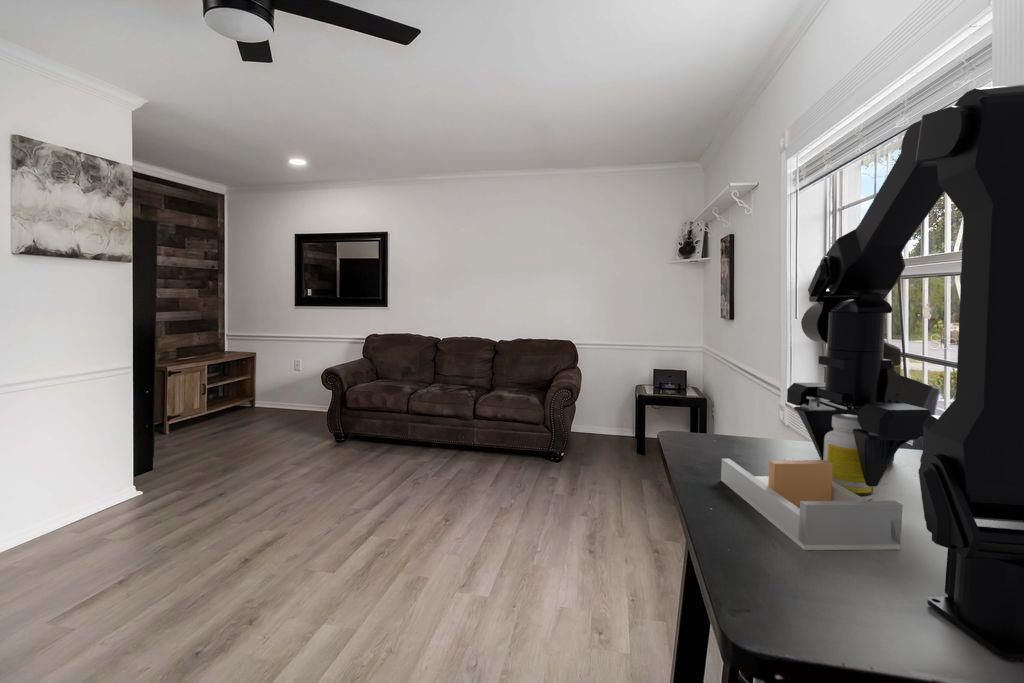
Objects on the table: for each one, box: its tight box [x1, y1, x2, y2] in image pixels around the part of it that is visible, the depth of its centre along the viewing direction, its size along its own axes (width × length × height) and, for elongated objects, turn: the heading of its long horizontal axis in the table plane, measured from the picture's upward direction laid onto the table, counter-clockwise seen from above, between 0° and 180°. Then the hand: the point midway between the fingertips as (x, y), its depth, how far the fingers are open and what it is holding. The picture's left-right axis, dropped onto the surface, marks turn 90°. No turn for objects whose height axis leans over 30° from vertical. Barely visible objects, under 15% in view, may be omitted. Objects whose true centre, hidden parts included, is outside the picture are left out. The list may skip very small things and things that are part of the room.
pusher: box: [768, 459, 833, 506], centre depth 57 cm, size 1×7×5 cm, turn 90°
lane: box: [720, 457, 904, 551], centre depth 58 cm, size 19×9×4 cm, turn 0°
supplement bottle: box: [823, 414, 875, 501], centre depth 62 cm, size 5×5×10 cm
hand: (847, 473), depth 63 cm, fingers open, 8 cm apart
